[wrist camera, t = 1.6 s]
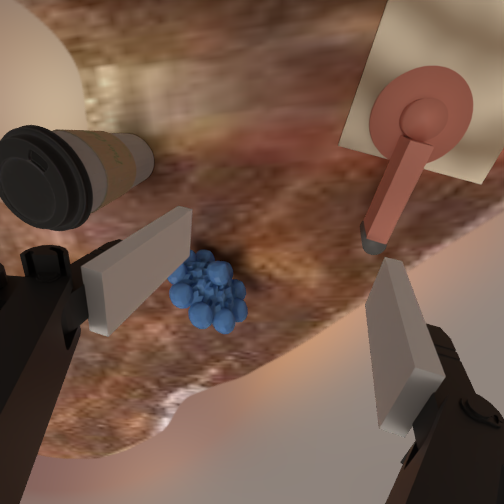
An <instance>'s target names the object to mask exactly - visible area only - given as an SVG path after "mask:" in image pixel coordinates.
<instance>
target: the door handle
mask: <svg viewBox="0 0 504 504" xmlns="http://www.w3.org/2000/svg"><path fill="white" fill-rule="evenodd" d="M472 114H473V96H472V92H471V90H470V87H469V85H468V84H467V82H466V81H465V79H464V78H463V77H462V76H461V75H460V74H458V73H457V72H455V71H453V70H451V69H449V68H446V67H443V66H422V67H419V68H415V69H412V70H410V71H408V72H406V73H404V74H402V75H400V76H398V77H397V78H395V79H394V80H392V81H391V82H390V83H389V84H388V85H387V86H386V87H385V88H384V89H383V90H382V91H381V93H380V94H379V95H378V97H377V99H376V100H375V102H374V104H373V107H372V110H371V113H370V118H369V132H370V136H371V139H372V142H373V143H374V145H375V147H376V148H377V149H378V151H379V152H380V153H381V154H382V155H383V156H384V157H385V158H387V159H388V160H390V161H389V163H388V165H387V168H386V170H385V172H384V175H383V177H382V179H381V181H380V184H379V186H378V188H377V191H376V193H375V195H374V197H373V200H372V202H371V204H370V207H369V209H368V211H367V214H366V216H365V218H364V220H363V221H362V223H361V225H360V232H361V239H362V246H363V249H364V251H365V252H366V253H368V254H371V255H377V254H380V253H382V252H383V251H384V250H385V248H386V246H387V242H388V240H389V238H390V236H391V234H392V232H393V229H394V227H395V225H396V223H397V221H398V219H399V217H400V215H401V213H402V211H403V209H404V207H405V205H406V203H407V201H408V199H409V197H410V195H411V193H412V191H413V189H414V187H415V185H416V183H417V181H418V179H419V177H420V175H421V173H422V171H423V169H424V167H425V165H426V163H430V162H432V161H435V160H437V159H439V158H440V157H442V156H444V155H445V154H447V153H448V152H449V151H450V150H452V149H453V148H454V147H455V146H456V145H457V144H458V143H459V141H460V140H461V139H462V137H463V136H464V134H465V133H466V131H467V129H468V127H469V125H470V122H471V119H472Z"/></svg>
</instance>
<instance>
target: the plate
mask: <svg viewBox="0 0 504 504" xmlns="http://www.w3.org/2000/svg"><path fill="white" fill-rule="evenodd" d="M422 66H443V67H446V68H449V69H451V70H453V71H455V72H457V73H458V74H460V75H461V76H462V77H463V78H464V79H465V81H466V82H467V84H468V85H469V87H470V90H471V92H472V96H473V114H472V119H471V122H470V125H469V127H468V129H467V131H466V133H465V134H464V136H463V137H462V139H461V140H460V141H459V143H458V144H457V145H456V146H455V147H454V148H453V149H452V150H450V151H449V152H448V153H447V154H445V155H444V156H442V157H440V158H439V159H437V160H435V161H432V162H430V163H426V165H425V167H424V169H426V170H429V171H433V172H437V173H441V174H444V175H448V176H452V177H455V178H459V179H463V180H466V181H470V182H474V183H478V184H482V182H483V181H484V179H485V177H486V176H487V174H488V172H489V171H490V169H491V168H492V166H493V164H494V163H495V161H496V159H497V158H498V156H499V154H500V153H501V151H502V149H503V148H504V0H388V1H387V4H386V7H385V10H384V13H383V16H382V19H381V22H380V25H379V28H378V30H377V33H376V36H375V39H374V42H373V45H372V48H371V51H370V54H369V57H368V60H367V62H366V65H365V68H364V71H363V74H362V77H361V80H360V83H359V86H358V89H357V91H356V94H355V97H354V100H353V103H352V106H351V109H350V112H349V115H348V118H347V121H346V123H345V126H344V129H343V132H342V135H341V138H340V141H339V144H338V146H341V147H344V148H348V149H352V150H356V151H359V152H363V153H367V154H370V155H374V156H378V157H381V158H385V157H384V156H383V155H382V154H381V153H380V152H379V151H378V149H377V148H376V147H375V145H374V143H373V142H372V139H371V136H370V132H369V118H370V113H371V110H372V107H373V104H374V102H375V100H376V99H377V97H378V95H379V94H380V93H381V91H382V90H383V89H384V88H385V87H386V86H387V85H388V84H389V83H390V82H391V81H392V80H394V79H395V78H397V77H398V76H400V75H402V74H404V73H406V72H408V71H410V70H412V69H415V68H419V67H422ZM385 159H387V158H385Z"/></svg>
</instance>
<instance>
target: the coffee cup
mask: <svg viewBox="0 0 504 504" xmlns="http://www.w3.org/2000/svg"><path fill="white" fill-rule="evenodd" d="M153 167H154V156H153V153H152V151H151V149H150V147H149V146H148V145H147V143H146V142H145V141H144V140H142V139H141V138H140V137H138V136H136V135H133V134H125V133H108V132H104V131H84V130H54V131H50V130H48V129H46V128H43V127H40V126H35V125H26V126H22V127H19V128H16V129H13V130H11V131H9V132H8V133H6V134H5V135H4V137H3V138H2V139H1V140H0V197H1V199H2V200H3V202H4V203H5V205H6V206H7V207H8V208H9V209H10V210H11V211H12V212H13V213H14V214H15V215H16V216H17V217H18V218H19V219H21V220H22V221H24V222H25V223H27V224H29V225H31V226H33V227H36V228H40V229H49V230H54V231H65V230H69V229H74V228H77V227H79V226H81V225H82V224H83V223H84V222H85V221H86V220H87V219H88V217H89V215H90V213H93V212H95V211H97V210H99V209H100V208H102V207H104V206H105V205H107V204H109V203H110V202H112V201H114V200H115V199H117V198H118V197H120V196H122V195H123V194H125V193H127V192H128V191H129V190H130V189H131V188H132V187H134V186H136V185H137V184H139V183H141V182H142V181H144V180H146V179H147V178H148V177H149V176H150V174H151V173H152V171H153Z"/></svg>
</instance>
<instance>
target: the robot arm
mask: <svg viewBox="0 0 504 504" xmlns="http://www.w3.org/2000/svg"><path fill="white" fill-rule="evenodd" d="M191 224H192V209H189V208H185V207H181V206H177V207H176V208H174V209H173V210H171V211H169V212H168V213H166V214H165V215H163V216H161V217H160V218H158V219H157V220H155V221H153V222H152V223H150V224H148V225H147V226H145V227H144V228H142V229H140V230H139V231H137V232H136V233H134V234H132V235H131V236H129V237H127V238H126V239H124V240H120V239H118V240H115V241H111V242H108V243H106V244H104V245H102V246H101V247H99V248H98V249H96V250H94V251H92V252H91V253H90V254H87V255H85V256H84V257H82V258H80V259H79V260H77V261H75V262H74V263H72V264H70V260H69V254H68V251H67V250H66V248H63V247H61V246H56V245H42V246H37V247H33V248H30V249H28V250H25V251H24V252H22V253H21V254H20V257H21V261H22V265H23V269H24V273H25V277H21V276H8V275H6V272H5V269H4V266H3V265H2V264H1V263H0V504H19V503H20V501H21V498H22V495H23V492H24V490H25V487H26V484H27V481H28V478H29V476H30V473H31V470H32V467H33V465H34V462H35V459H36V456H37V454H38V451H39V448H40V445H41V443H42V440H43V437H44V434H45V431H46V429H47V426H48V423H49V420H50V418H51V415H52V412H53V409H54V407H55V404H56V401H57V398H58V395H59V393H60V390H61V387H62V384H63V382H64V379H65V376H66V373H67V370H68V368H69V365H70V362H71V359H72V357H73V354H74V351H75V348H76V346H77V343H78V340H79V337H80V333H81V329H80V325H81V324H82V323H83V322H84V321H85V320H86V319H88V321H89V328H90V331H93V332H96V333H99V334H102V335H104V336H107V337H109V336H110V335H111V334H112V333H113V332H114V331H115V330H116V329H117V328H118V327H119V326H120V325H121V324H122V323H123V322H124V321H125V320H126V319H127V318H128V317H129V316H130V315H131V314H132V313H133V312H134V311H135V310H136V309H137V308H138V307H139V306H140V305H141V304H142V303H143V302H144V301H145V300H146V299H147V298H148V297H149V296H150V295H151V294H152V293H153V292H154V291H155V290H156V289H157V288H158V287H159V286H160V285H161V284H162V283H163V282H164V281H165V280H166V279H167V278H168V277H169V276H170V275H171V274H172V273H173V272H174V271H175V270H176V269H177V268H178V267H179V266H180V265H181V264H182V263H183V262H184V261H185V260H186V259H187V258H188V257H189V256H190V240H191ZM365 307H366V317H367V326H368V335H369V344H370V353H371V361H372V371H373V379H374V389H375V398H376V407H377V416H378V424H379V429H381V430H384V431H386V432H390V433H392V434H395V435H398V436H401V437H405V436H406V435H407V434H408V432H409V431H410V429H411V428H412V426H413V430H414V434H415V439H416V441H415V442H414V444H413V445H412V447H411V448H410V449H409V451H408V452H407V454H406V455H405V456H404V458H403V459H402V461H401V463H402V464H403V466H402V468H401V470H400V472H399V474H398V477H397V479H396V481H395V483H394V486H393V488H392V490H391V492H390V495H389V497H388V499H387V501H386V503H385V504H504V419H503V417H502V415H501V414H500V412H499V411H498V410H497V409H496V408H495V407H494V406H493V405H492V404H491V403H489V402H488V401H487V400H485V399H484V398H483V397H481V396H480V395H478V394H476V393H475V391H474V389H473V386H472V384H471V382H470V380H469V378H468V376H467V374H466V371H465V369H464V367H463V365H462V362H460V358H459V356H458V354H457V352H455V351H456V349H455V347H454V345H453V343H452V341H451V339H450V338H449V337H448V335H447V334H446V333H445V332H444V331H443V330H442V329H441V328H440V327H436V326H433V325H429V324H426V323H425V320H424V318H423V315H422V312H421V310H420V307H419V304H418V302H417V299H416V297H415V294H414V291H413V289H412V286H411V283H410V281H409V278H408V275H407V273H406V270H405V267H404V265H403V262H402V261H399V260H395V259H391V258H387V257H385V258H384V260H383V263H382V265H381V268H380V270H379V272H378V275H377V277H376V280H375V282H374V284H373V287H372V289H371V292H370V294H369V296H368V299H367V301H366V304H365Z"/></svg>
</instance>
